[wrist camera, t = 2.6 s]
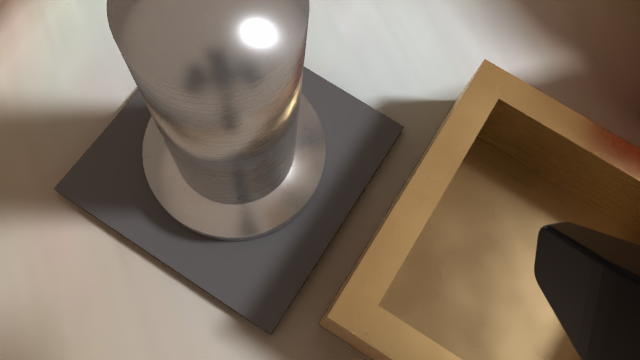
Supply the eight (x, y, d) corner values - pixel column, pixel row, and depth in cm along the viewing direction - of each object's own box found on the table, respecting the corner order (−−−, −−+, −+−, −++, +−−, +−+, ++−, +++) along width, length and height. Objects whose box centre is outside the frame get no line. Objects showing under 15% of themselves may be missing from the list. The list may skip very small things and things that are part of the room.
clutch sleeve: (355, 135, 23) (413, -27, 13) (259, 277, 21) (248, 204, 11) (217, 50, 24) (179, -160, 14) (110, 178, 21) (-18, 32, 12)
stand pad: (401, 130, 23) (403, 126, 23) (270, 334, 20) (270, 334, 20) (209, 14, 25) (209, 9, 24) (58, 192, 21) (54, 188, 21)
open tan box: (692, 239, 23) (760, 219, 20) (588, 502, 19) (651, 530, 16) (456, 99, 24) (484, 59, 21) (318, 323, 21) (327, 316, 17)
